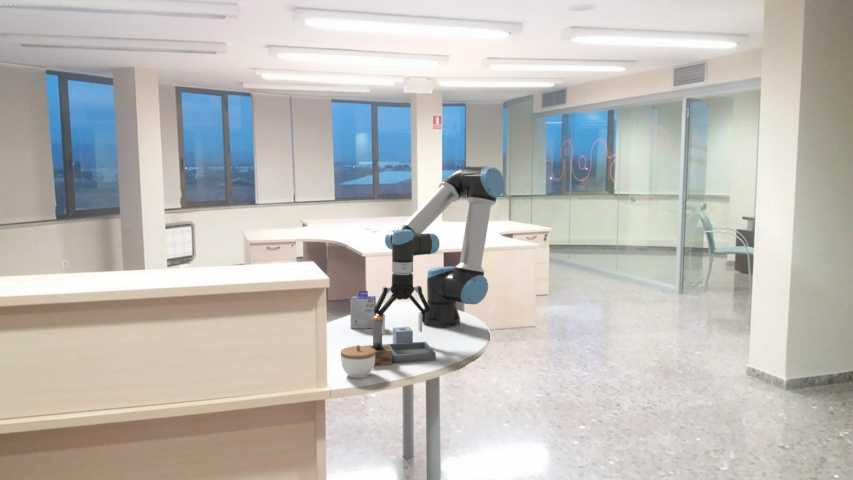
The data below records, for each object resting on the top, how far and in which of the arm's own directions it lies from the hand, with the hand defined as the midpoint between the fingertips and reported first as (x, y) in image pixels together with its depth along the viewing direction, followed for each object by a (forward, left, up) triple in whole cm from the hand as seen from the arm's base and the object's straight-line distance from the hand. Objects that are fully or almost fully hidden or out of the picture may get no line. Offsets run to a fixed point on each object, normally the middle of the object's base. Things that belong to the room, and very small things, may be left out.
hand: (401, 331), depth 232 cm
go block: (+12, +17, -5) cm, 21 cm away
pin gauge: (+12, +17, -4) cm, 21 cm away
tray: (0, +13, -5) cm, 14 cm away
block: (0, 0, -5) cm, 5 cm away
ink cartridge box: (+10, -29, -5) cm, 31 cm away
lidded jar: (+20, +29, -5) cm, 35 cm away
